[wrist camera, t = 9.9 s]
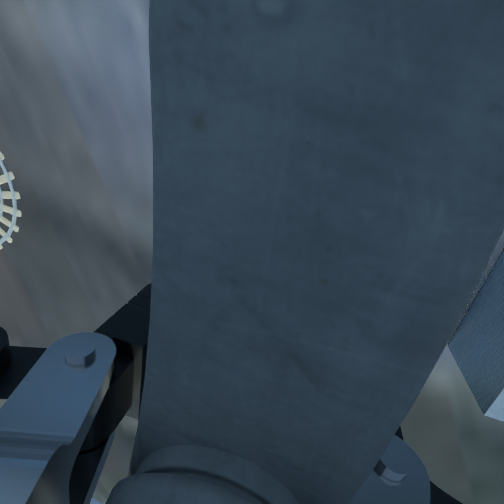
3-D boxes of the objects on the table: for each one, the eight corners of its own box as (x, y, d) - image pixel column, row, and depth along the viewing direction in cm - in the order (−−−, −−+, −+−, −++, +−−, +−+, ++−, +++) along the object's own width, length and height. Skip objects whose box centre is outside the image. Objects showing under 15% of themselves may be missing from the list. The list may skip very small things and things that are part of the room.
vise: (672, 108, 18) (858, 99, 12) (497, 360, 26) (550, 436, 20) (430, 63, 20) (476, 35, 13) (336, 312, 28) (338, 368, 21)
